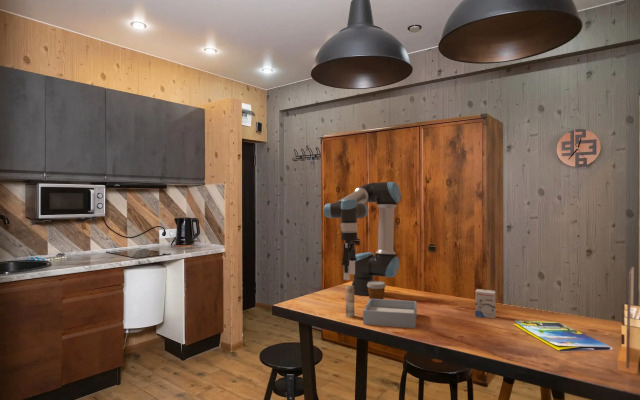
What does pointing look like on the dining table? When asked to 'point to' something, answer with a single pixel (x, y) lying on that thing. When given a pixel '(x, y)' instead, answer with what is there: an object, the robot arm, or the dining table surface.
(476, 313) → the ink box
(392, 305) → the socket box
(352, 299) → the beech dowel
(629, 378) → the dining table surface
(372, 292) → the disposable coffee cup
